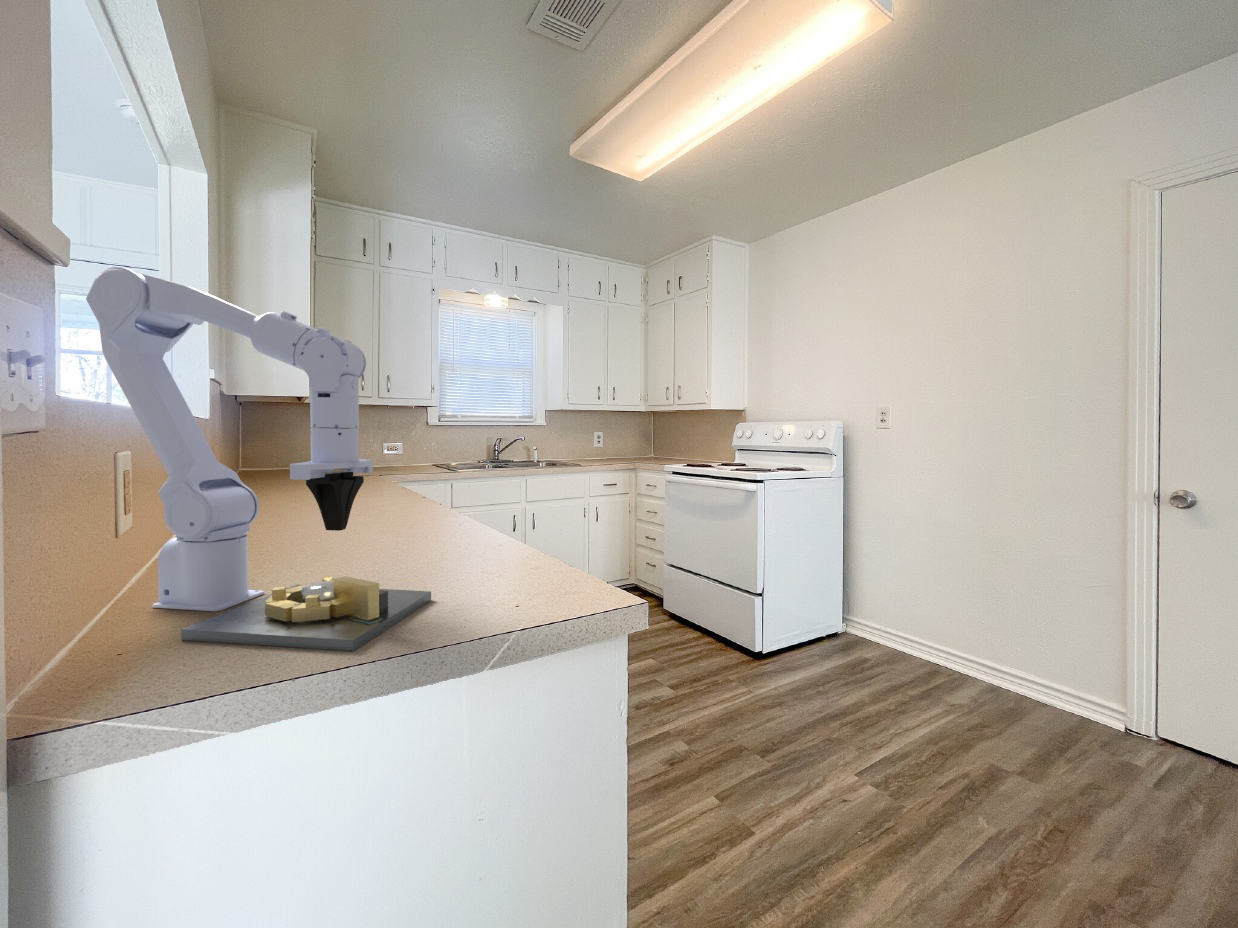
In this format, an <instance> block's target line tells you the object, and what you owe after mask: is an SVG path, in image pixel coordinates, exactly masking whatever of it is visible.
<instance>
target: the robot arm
mask: <svg viewBox="0 0 1238 928" xmlns="http://www.w3.org/2000/svg"><path fill="white" fill-rule="evenodd" d="M85 301H86V302H87V304H88V306H89V307H90V310H91V311H92V313H93V315H94V317H95V319H96V320H97V322H98V326H99V327H98V328H99V332H100V333H99V334H100V341H101V348H102V354H103V357H104V359H105V361H106V362H107V364H108V366H109V368H110V371H111V372H112V374H113V376H114V378H115V379H116V382H117V383H118V386H120V389H121V391H122V392H123V395H124V396H125V398H126V400H127V401H128V403H129V405H130V408H131V409H132V411H133V413H134V415H135V417H136V418H137V420H138V422H139V423H140V426H141V427H142V429H143V431H144V433H145V435H146V437H147V439H148V440H149V443H150V444H151V446H152V448H153V450H154V451H155V453H156V455H157V457H158V458H159V461H160V463H161V465H162V466H163V468H164V470H165V472H166V474H167V475H168V476H167V477H168V478H167V479H166V480H165V481H164V483H163V484H162V486H161V487H160V488H159V490H158V491H157V494H158V496H159V498H160V500H161V502H162V504H163V505H162V506H163V518H164V523H165V525H166V527H167V528H168V530H169V531H170V532H171V533H172V534H174V535H175V537H173V538H171V539H169V540H168V541H167V542H165V544H163V546H162V547H161V550H160V551H159V554H158V557H157V577H158V580H157V581H158V582H157V583H158V602H155V603H153V604H152V608H156V609H168V610H189V611H203V612H220V611H223V610H226V609H228V608H230V607H233V606H236V605H239V604H241V603H244V602H247V601H249V600H252V599H254V598H257V597H260V596H262V595H263V596H264V594H265V590H260V589H259V590H258V589H249V556H248V555H249V554H248V553H249V551H248V546H249V545H248V543H249V542H248V541H249V540H248V533H249V532H250V531H251V530H250V525H251V524H252V523H253V522H254V521H255V520H256V518H257V517H258V514H259V511H260V502H259V498H258V496H257V495H256V493H255V492H254V490H252V488H250V487H249V486H247V485H246V484H245V483H243V482H242V480H241V479H240V477H239V475H238V473H237V472H236V471H234V470H233V469H231V468H230V467H228V466H226V465H225V464H222V463H221V462H219V461H218V459H217V458H216V456H215V453H214V452H213V450H212V447H210V444H209V443H208V441H207V439H206V437H205V435H204V433H203V431H202V429H201V428H200V425H199V424H198V422H197V420H196V418H195V417H194V415H193V413H192V410H191V409H190V407H189V405H188V403H187V402H186V399H185V397H184V396H183V394H182V392H181V390H180V388H179V386H178V384H177V382H176V381H175V379H174V377H173V376H172V373H171V371H170V369H169V367H168V366H167V364H166V362H165V360H164V357H165V355H166V353H167V352H170V351H171V350H172V348H174V346H176V345H177V343H178V342H179V341H180V340H181V339H182V338H183V337H184V335H186V333H187V332H188V331H189V330H190V329H191V328H192V326H193V325H196V326H201V325H203V324H204V323H205V322H207V323H209V324H212V325H215V326H218V327H220V328H223V329H226V330H229V331H231V332H234V333H236V334H239V335H241V336H244V337H247V338H249V339H250V341H251V344H252V346H253V348H254V349H255V350H256V351H257V353H260V354H263V355H265V356H268V357H270V358H272V359H275V360H277V361H279V362H282V363H284V364H287V365H290V366H292V367H294V368H295V369H296V368H297V369H299V370H301V371H304V372H305V373H306V375H307V376H308V377H307V378H308V386H309V393H310V394H309V401H310V403H309V405H310V406H309V407H310V409H309V411H310V414H309V417H310V419H309V420H310V428H309V429H310V430H309V431H310V460H309V461H305V462H297V463H290V464H289V480H295V481H305V485H306V487H307V488H308V489H309V490H310V492H311V493H312V495H313V497H314V500H315V501H316V503H317V505H318V509H319V511H320V514H321V517H322V521H323V524H324V527H325V531H335V532H336V531H343V530H346V529H347V525H348V522H349V518H350V516H351V515H350V514H351V510H352V509H353V508H352V507H353V504H354V501H355V499H356V496H357V494H358V492H359V490H360V489H361V487H362V486H363V484H364V480H365V477H364V476H363V475H355V474H365V473H366V474H368V473H369V474H370V473H371V474H372V473H373V469H374V467H373V465H374V463H373V462H374V459H370V458H369V459H368V458H365V459H363V458H362V459H361V458H360V439H359V438H360V409H359V408H360V404H359V403H360V399H359V398H360V394H359V387H360V386H359V379H361V377H362V376H363V375H364V373H365V371H366V368H367V361H366V356H365V353H364V352H363V351H362V350H361V348H360V347H358V345H356V344H354V343H352V342H351V341H350V340H348V339H347V340H346V339H341V338H338V337H336V336H333V335H330V334H331V331H330V330H328V329H326V328H324V327H321V326H319V327H318V328H315V327H312V326H310V325H308V324H305V323H302V322H300V321H297V319H298V316H297V315H295V314H292V313H290V312H287V311H284V310H281V313H278V312H275V311H271V312H266V313H264V314H261V315H258V314H256V313H253V312H250V311H248V310H246V309H244V308H242V307H240V306H237V305H235V304H232V303H230V302H228V301H225V300H224V299H221V298H219V297H217V296H215V295H212V294H210V293H207V292H206V291H203V290H199V289H197V288H194V287H192V286H189V285H185V284H182V283H179V282H175V281H172V280H168V279H165V278H160V277H157V276H154V275H150V274H145V273H141V274H139V273H136V272H135V271H133V269H129V268H126V267H123V266H122V267H121V266H112V267H108V268H106V269H104V270H102V271H101V272H99V273H98V275H97V276H96V277H95V279H94V280H93V282H92V285H91V287H90V288H89V291H88V294H87V296H86V298H85ZM334 470H340V471H334Z"/></svg>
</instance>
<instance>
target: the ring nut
mask: <svg viewBox="0 0 1238 928" xmlns="http://www.w3.org/2000/svg"><path fill="white" fill-rule="evenodd" d="M327 581H330V582H334V600H331V601H325V602H320V594H319V595H308V596H307V597H306V598H305V602H306V603H299V602H302V587H303V586H305V585H307V584H308V583H306V584H300V585H301V586H297V587H293V588H289V587H288V588H289V589H287V586H277V587H274V588H273V589H271V594H272V595H271V594H270V595H271V596H270V597H269V598H268V599H267V600H266V601H265V614H266V616H267V617H271V618H274V619H278V620H282V621H285V622H287V621H290V620H292V622H297V621H310V620H322V619H330V617H335V618H337V617H340V616H343V615H348V616H352V617H356V618H360V619H364V620H368V621H369V620H371V619H374V618H377V617H379V589H380V583H379V582H377V581H372V580H371V581H370V580H365V579H361V578H356V577H350V576H341V577H337V578H335V575H334V574H333V575H323V577H321V582H327Z"/></svg>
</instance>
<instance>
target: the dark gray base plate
mask: <svg viewBox="0 0 1238 928" xmlns="http://www.w3.org/2000/svg"><path fill="white" fill-rule="evenodd" d="M306 584H307V585H305V584H304V585H305V586H303V587H302V602H299V603H306V602H305V598H306V597H307V596H308V595H319V594H320V602H325V601H331V600H334V582H330V581H327V582H322V581H318V582H316V581H315V582H312V583H306ZM301 585H302V584H295V585H292V586H290V587H286V589H289V588H293V587H297V586H301ZM271 595H272V593H271V594H269V595H267V596H264V597H261V598H259V599H257V600H253V601H251V602H248V603H246V604H243V605H241V606H238V607H235V608H233V609H230V610H228V611H225V612H222V613H220V614H217V615H214V616H212V617H209V618H207V619H205V620H201V621H199V622H197V623H194V624H191V625H189V626H187V627H183V628H181V629H180V630H181V631H180V635H181V637H180V638H181V639H180V640H181V641H187V642H189V641H191V642H192V641H193V642H203V643H204V642H207V643H222V644H234V645H235V644H237V645H251V646H253V645H254V646H266V647H267V646H268V647H280V648H281V647H282V648H296V649H297V648H298V649H311V650H326V651H341V652H342V651H343V652H344V651H345V652H355V651H356V650H358V649H359V648H360V647H362V646H364V645H365V644H367V643H368V642H370V641H372V640H373V639H374V638H376V637H377V636H379V635H381V634H382V633H384V632H385V631H387V630H388V629H390V628H391V627H393V626H394V625H396V624H397V623H398V622H400V621H401V620H403V619H404V618H406V617H408V616H409V615H411V614H412V613H414V612H415V611H417V610H418V609H420V608H421V607H423V606H424V605H426V604H428V603H429V602H430V601H432V591H429V590H428V591H427V590H411V589H409V590H408V589H390V588H379V617H377V618H374V619H371V620H369V621H368V620H364V619H360V618H356V617H352V616H348V615H343V616H340V617H337V618H335V617H330V619H322V620H310V621H297V622H292V620H290V621H287V622H285V621H282V620H278V619H274V618H271V617H267V616H266V614H265V601H266V600H267V599H268V598H269V597H270V596H271Z"/></svg>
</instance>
